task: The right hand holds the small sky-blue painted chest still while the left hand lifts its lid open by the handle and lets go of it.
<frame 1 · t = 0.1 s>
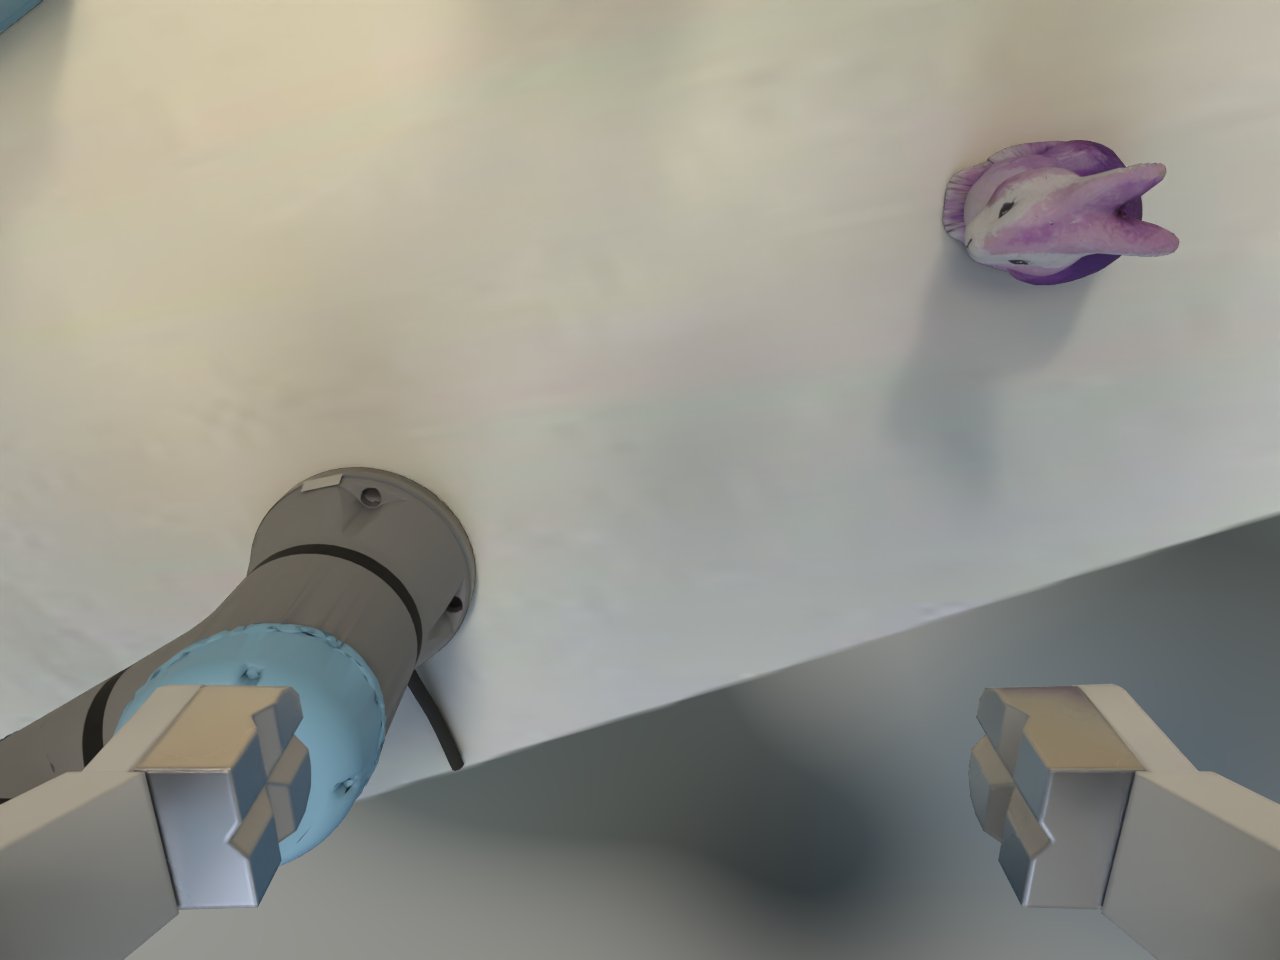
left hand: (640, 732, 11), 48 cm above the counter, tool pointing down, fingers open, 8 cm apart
figurine: (1011, 213, 54), on the counter
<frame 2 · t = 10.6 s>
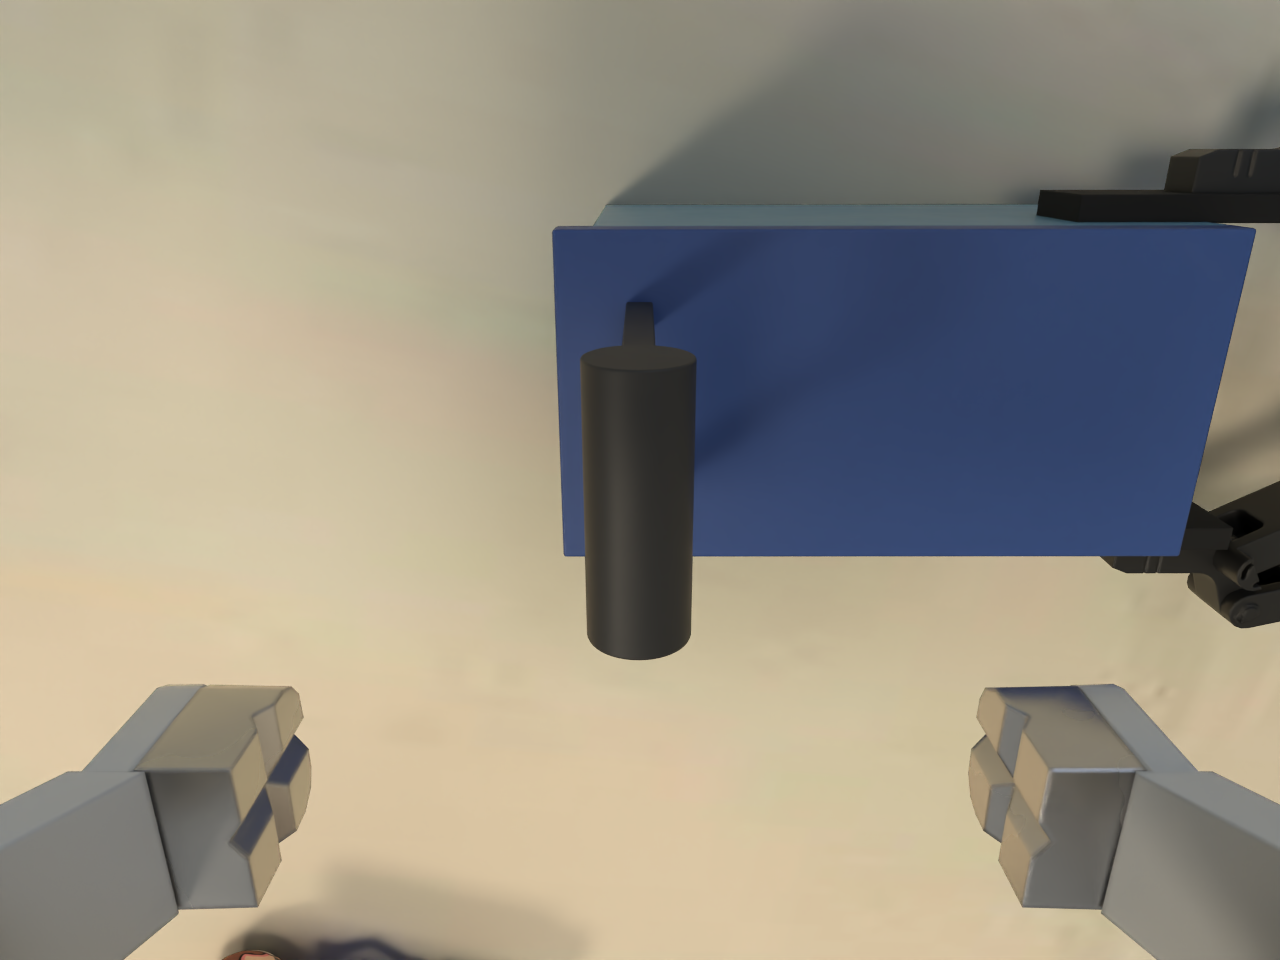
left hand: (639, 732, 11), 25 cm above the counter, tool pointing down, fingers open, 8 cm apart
lid: (926, 445, 21), point 14 cm above the counter, hinge at 0.0°
chest: (829, 331, 34), on the counter, touching right hand
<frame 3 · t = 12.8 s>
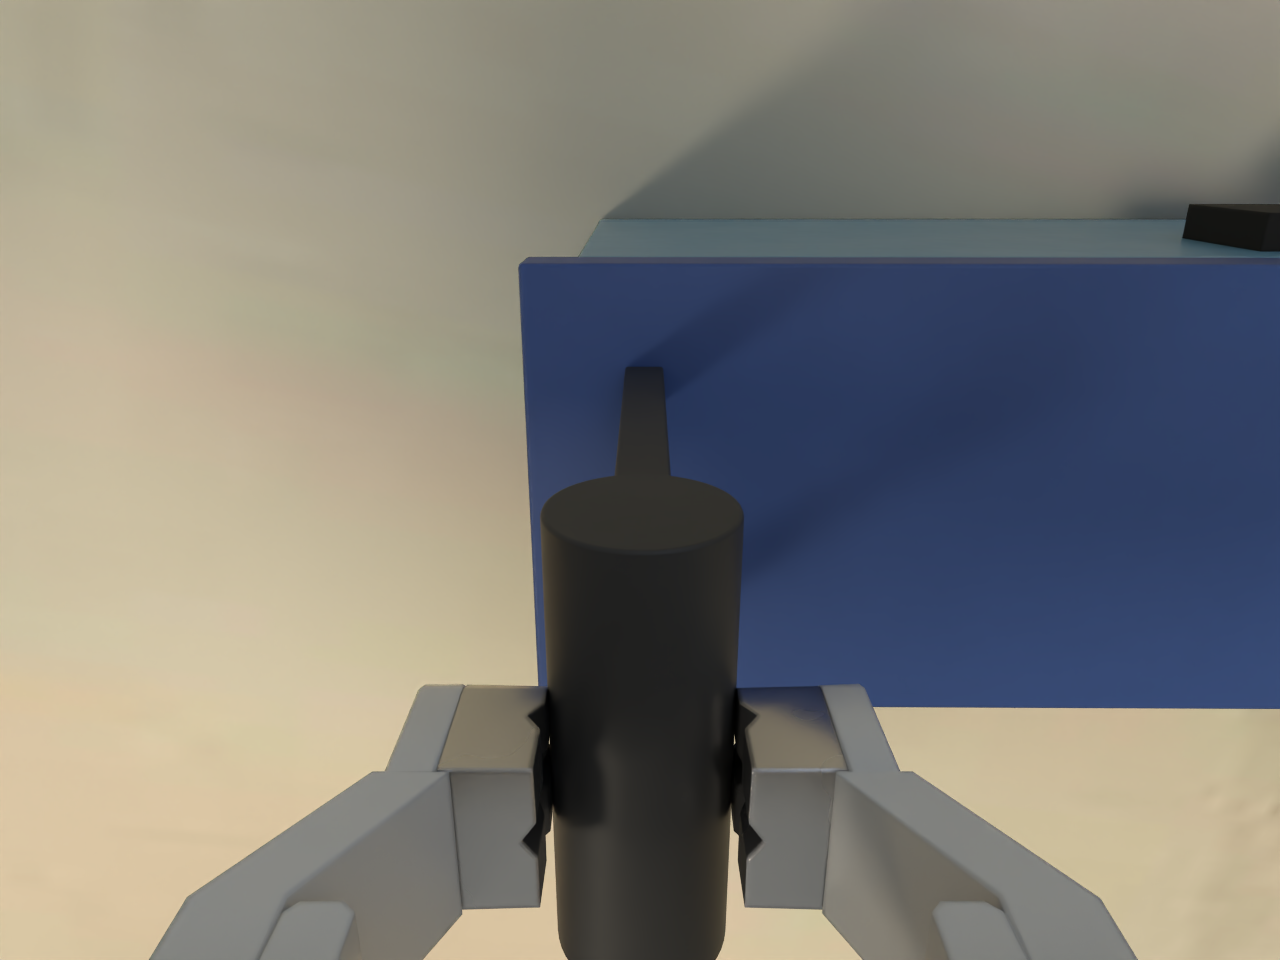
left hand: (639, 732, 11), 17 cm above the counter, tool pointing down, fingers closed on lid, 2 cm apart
lid: (1076, 595, 14), point 14 cm above the counter, hinge at -0.2°, touching left hand
chest: (883, 378, 27), on the counter, touching right hand
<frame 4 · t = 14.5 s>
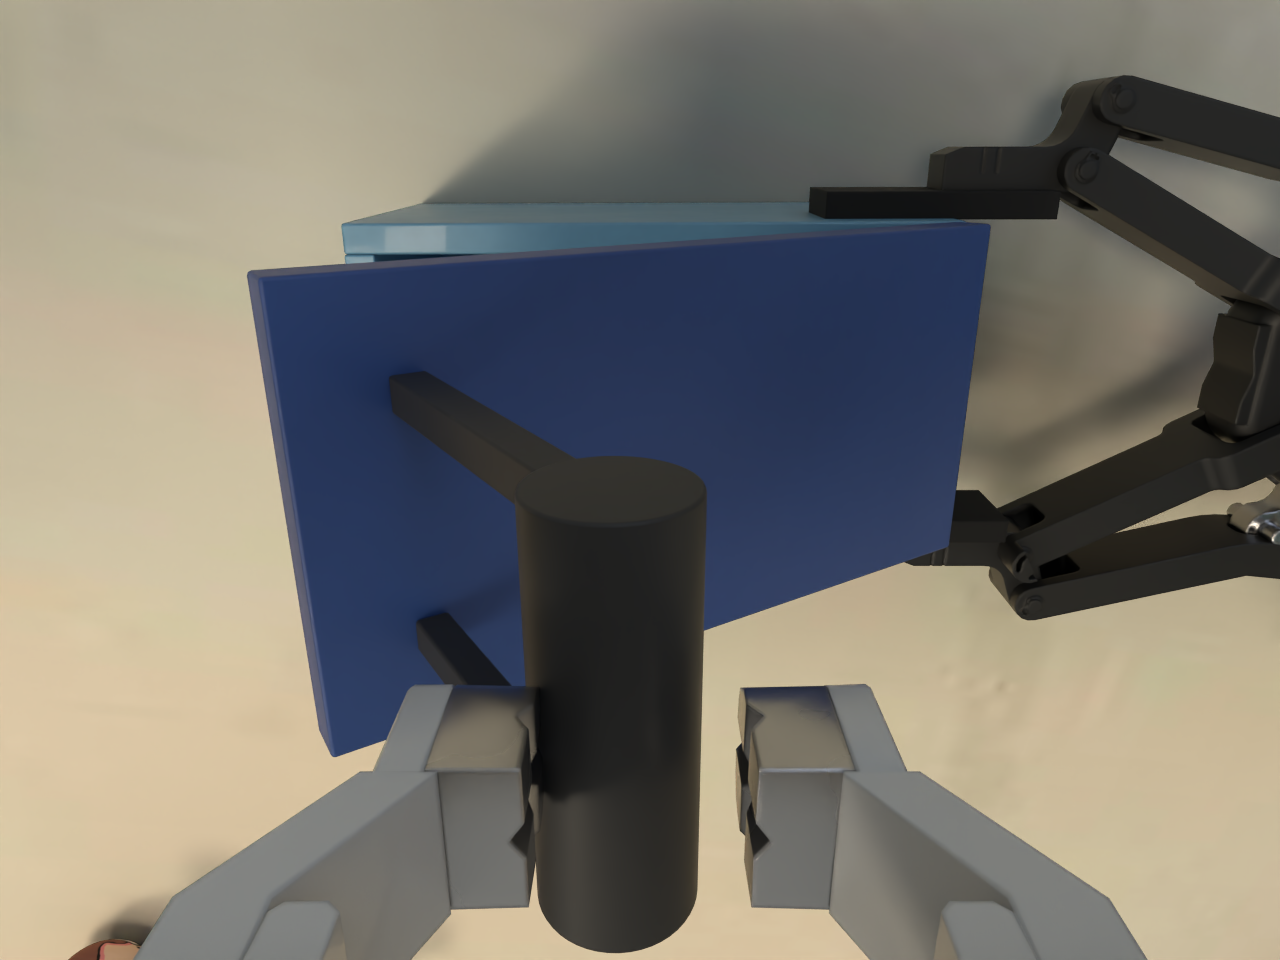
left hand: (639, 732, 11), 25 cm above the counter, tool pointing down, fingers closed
right hand: (806, 369, 28), fingers closed on chest, 9 cm apart
lid: (818, 503, 17), point 18 cm above the counter, hinge at 32.6°, touching left hand
chest: (650, 327, 34), on the counter, touching right hand
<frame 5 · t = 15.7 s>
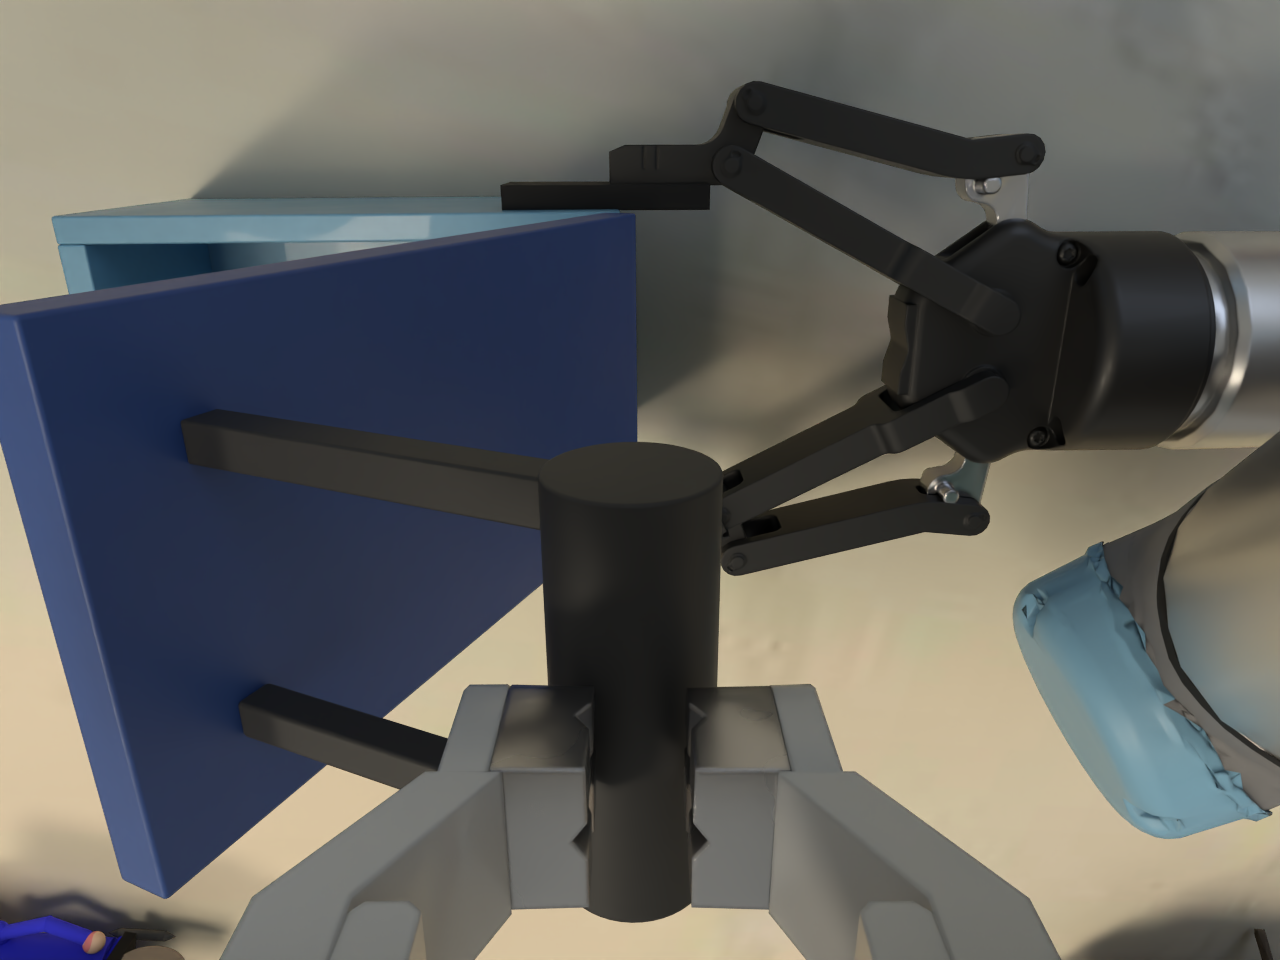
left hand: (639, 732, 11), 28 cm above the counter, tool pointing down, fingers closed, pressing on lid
right hand: (514, 347, 30), fingers closed on chest, 9 cm apart
lid: (614, 476, 19), point 20 cm above the counter, hinge at 64.1°, touching left hand
chest: (416, 313, 37), on the counter, touching right hand
figurine character: (72, 931, 48), on the counter
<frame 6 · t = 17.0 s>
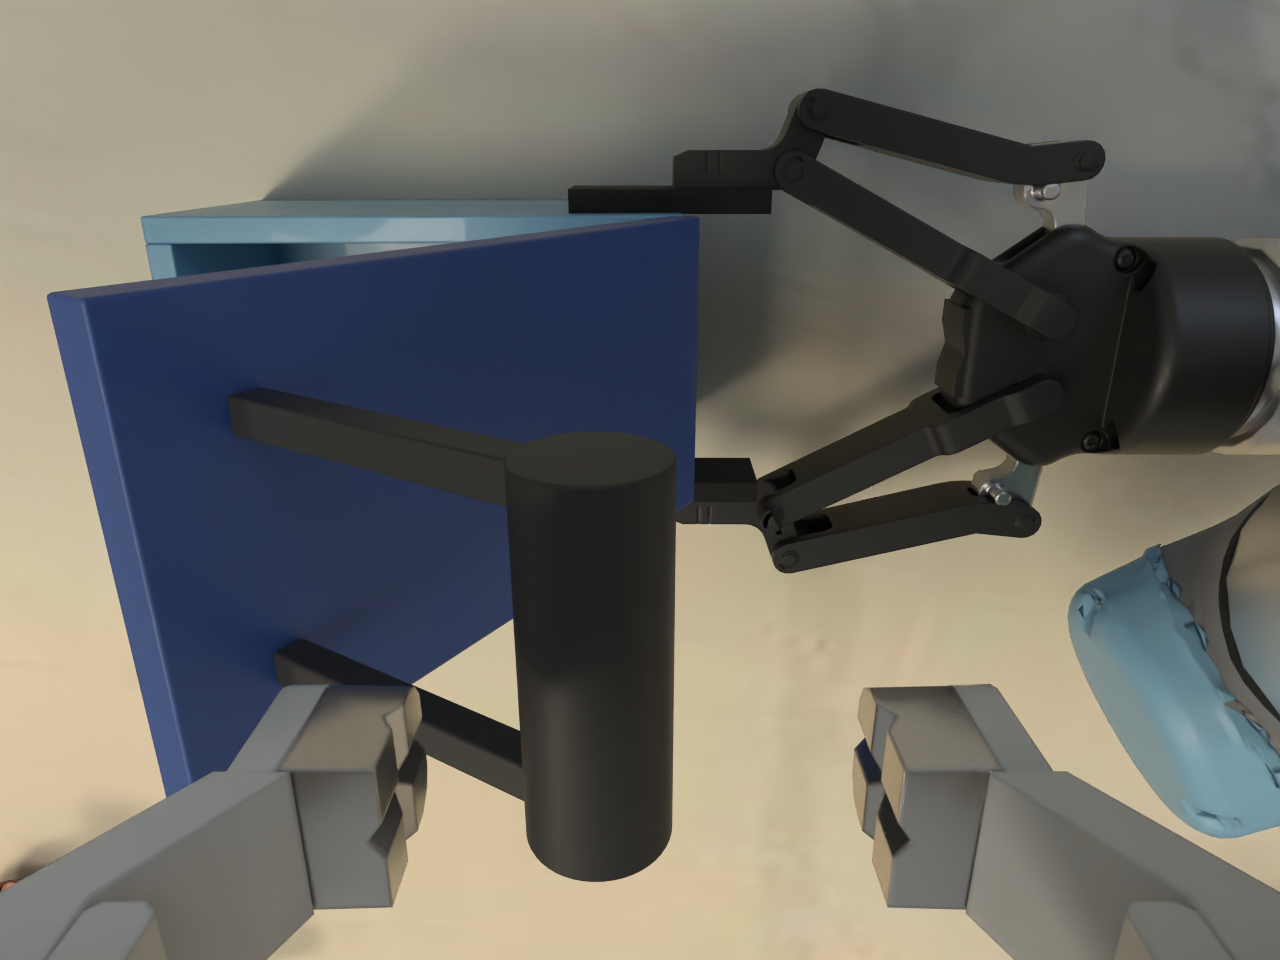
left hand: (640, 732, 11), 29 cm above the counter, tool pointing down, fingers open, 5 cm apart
right hand: (575, 347, 31), fingers closed on chest, 9 cm apart
lid: (640, 469, 19), point 20 cm above the counter, hinge at 57.9°
chest: (474, 313, 38), on the counter, touching right hand
when the right hand's fingers open (7 cm above the counter, at t = 19.9 s): chest stays where it is, on the counter.
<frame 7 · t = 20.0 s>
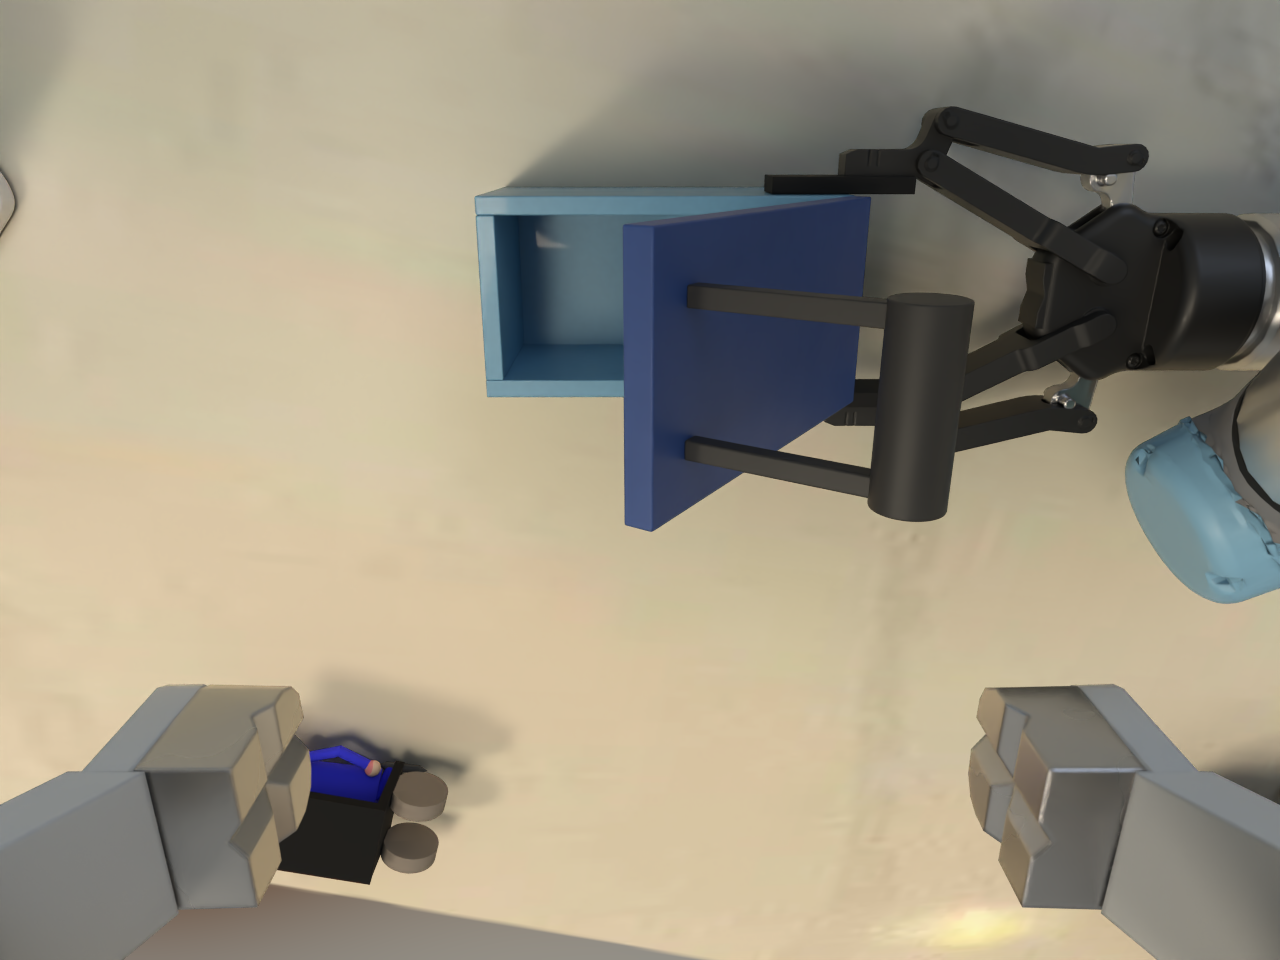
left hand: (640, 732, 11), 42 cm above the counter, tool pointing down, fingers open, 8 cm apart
right hand: (763, 292, 43), fingers open, 9 cm apart
lid: (873, 348, 31), point 20 cm above the counter, hinge at 57.1°
chest: (659, 274, 49), on the counter
figurine character: (345, 765, 61), on the counter
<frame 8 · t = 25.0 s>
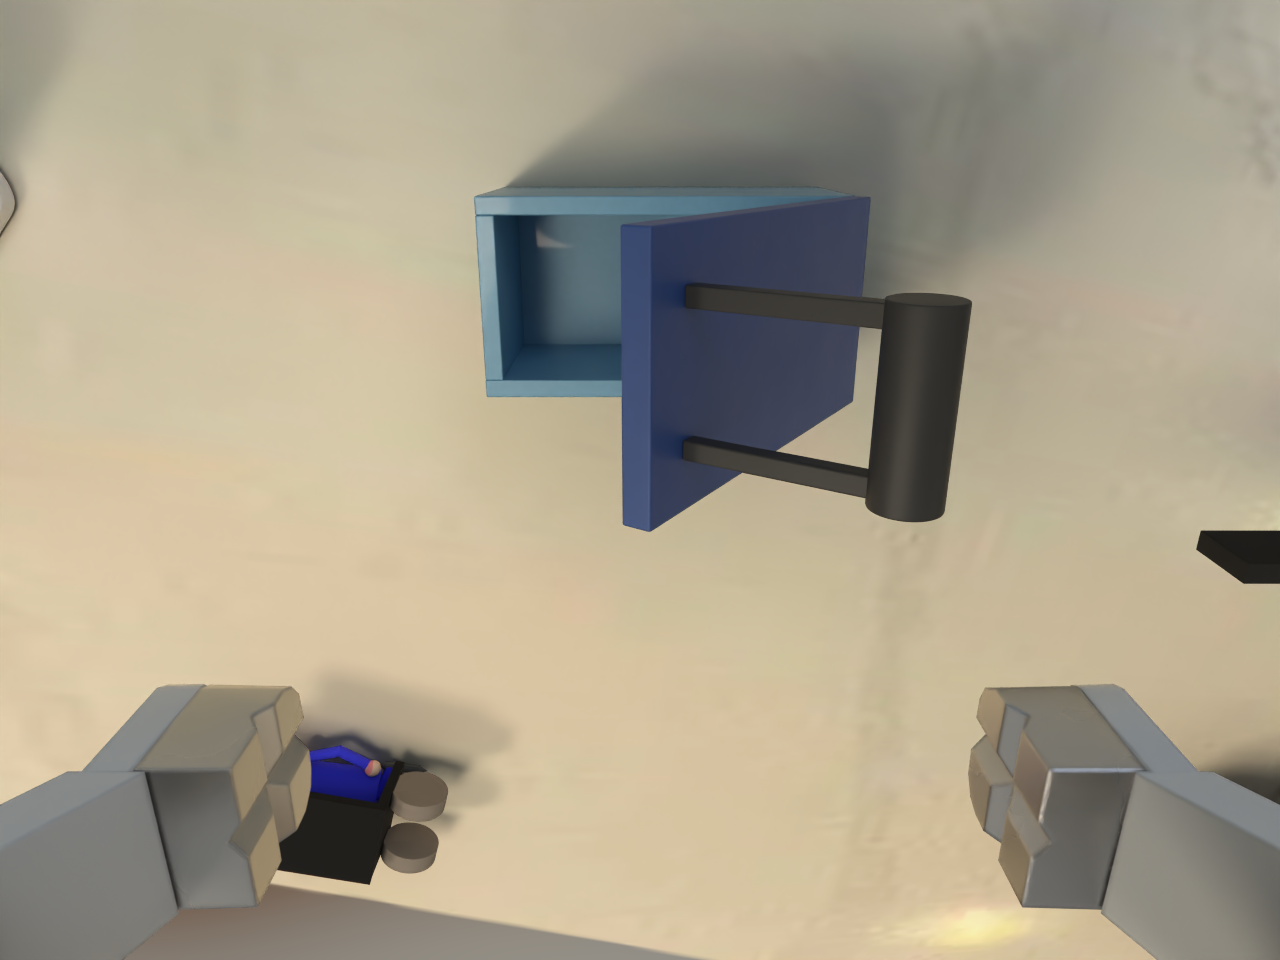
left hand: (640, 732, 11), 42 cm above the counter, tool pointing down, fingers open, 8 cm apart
lid: (872, 348, 31), point 20 cm above the counter, hinge at 57.1°
chest: (659, 274, 49), on the counter
figurine character: (345, 765, 61), on the counter
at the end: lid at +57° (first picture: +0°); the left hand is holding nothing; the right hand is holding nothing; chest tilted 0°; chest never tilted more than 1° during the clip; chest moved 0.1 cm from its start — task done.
